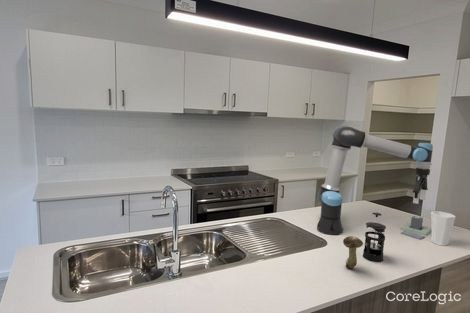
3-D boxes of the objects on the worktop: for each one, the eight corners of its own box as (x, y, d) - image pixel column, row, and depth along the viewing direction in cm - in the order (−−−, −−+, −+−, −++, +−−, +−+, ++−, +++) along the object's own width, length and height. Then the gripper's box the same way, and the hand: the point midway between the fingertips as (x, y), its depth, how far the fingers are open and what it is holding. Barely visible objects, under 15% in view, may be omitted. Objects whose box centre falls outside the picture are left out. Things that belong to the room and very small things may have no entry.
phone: (400, 234, 177) (400, 232, 177) (405, 232, 181) (405, 230, 181) (420, 240, 169) (420, 238, 169) (424, 238, 172) (424, 236, 172)
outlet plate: (400, 229, 185) (400, 226, 184) (407, 224, 194) (407, 221, 194) (425, 236, 174) (425, 233, 174) (431, 230, 184) (432, 227, 184)
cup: (452, 243, 164) (456, 214, 162) (450, 249, 157) (454, 218, 155) (429, 237, 172) (432, 209, 170) (426, 242, 165) (429, 213, 162)
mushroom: (358, 275, 127) (361, 243, 125) (338, 269, 132) (340, 238, 130) (362, 266, 135) (365, 236, 133) (342, 261, 140) (345, 231, 138)
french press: (374, 264, 138) (379, 217, 135) (357, 256, 146) (361, 212, 143) (389, 259, 144) (394, 214, 141) (372, 251, 152) (376, 208, 149)
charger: (410, 229, 185) (411, 216, 184) (412, 227, 188) (414, 215, 187) (419, 232, 181) (420, 219, 180) (421, 230, 184) (423, 217, 183)
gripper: (424, 170, 168) (419, 206, 171) (435, 167, 185) (431, 199, 188) (409, 169, 174) (405, 203, 176) (421, 165, 190) (418, 196, 193)
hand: (419, 201), depth 182 cm, fingers open, 13 cm apart
